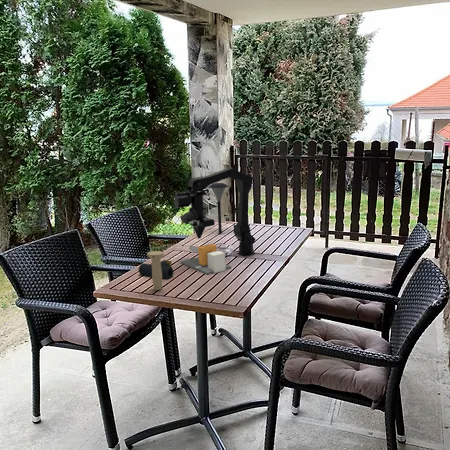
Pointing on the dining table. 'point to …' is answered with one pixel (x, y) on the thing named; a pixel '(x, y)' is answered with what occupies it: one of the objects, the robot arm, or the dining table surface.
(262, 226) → the dining table surface
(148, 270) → the pipe connector
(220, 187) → the solar garden light
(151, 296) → the dining table surface
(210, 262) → the block
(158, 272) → the handle
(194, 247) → the pipe
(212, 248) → the collar
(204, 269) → the mat
